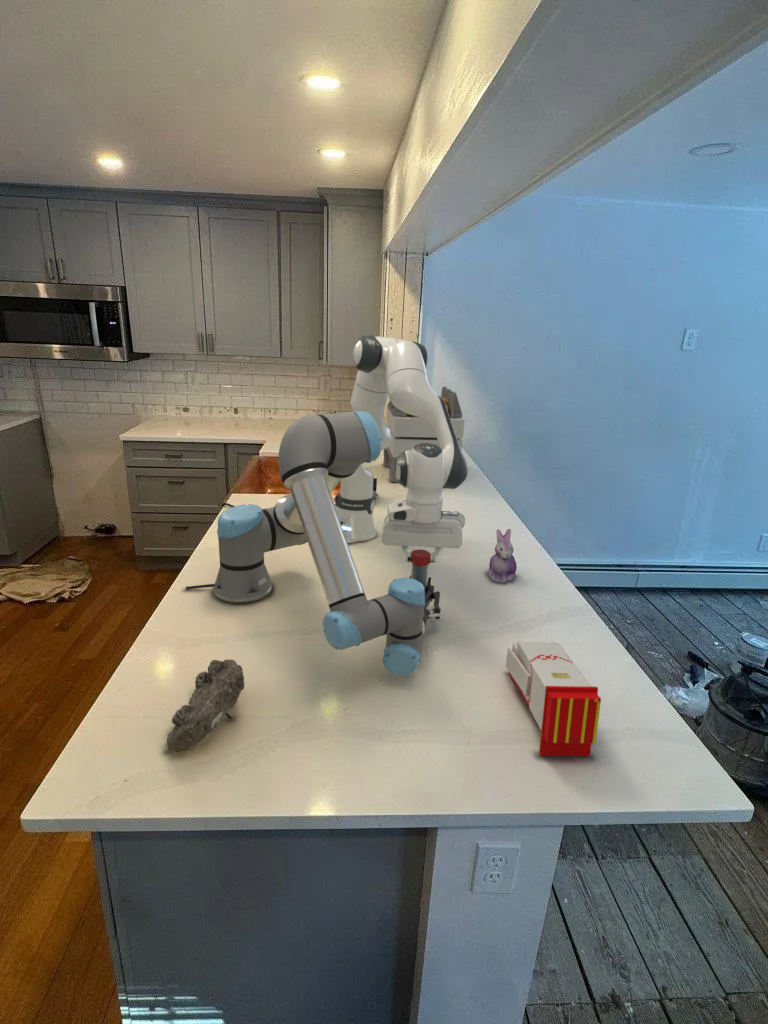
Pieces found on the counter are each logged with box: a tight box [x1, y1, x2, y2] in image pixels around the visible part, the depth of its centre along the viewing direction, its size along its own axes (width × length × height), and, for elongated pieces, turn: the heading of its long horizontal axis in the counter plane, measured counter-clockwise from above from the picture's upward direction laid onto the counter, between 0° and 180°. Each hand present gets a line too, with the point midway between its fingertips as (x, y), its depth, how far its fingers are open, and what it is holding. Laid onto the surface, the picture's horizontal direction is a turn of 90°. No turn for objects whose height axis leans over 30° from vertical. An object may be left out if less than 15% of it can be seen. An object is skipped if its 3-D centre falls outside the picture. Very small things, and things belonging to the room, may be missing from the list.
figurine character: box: [373, 477, 378, 500], centre depth 233 cm, size 7×8×15 cm
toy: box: [505, 641, 602, 757], centre depth 113 cm, size 12×13×30 cm
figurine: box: [488, 528, 518, 583], centre depth 168 cm, size 9×10×15 cm
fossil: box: [166, 658, 245, 754], centre depth 106 cm, size 22×10×15 cm
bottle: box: [410, 563, 429, 594], centre depth 146 cm, size 4×4×16 cm
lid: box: [410, 548, 431, 566], centre depth 144 cm, size 5×5×2 cm
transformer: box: [383, 386, 465, 483], centre depth 268 cm, size 34×33×41 cm
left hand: (420, 580), depth 152 cm, fingers closed on bottle, 4 cm apart
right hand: (420, 561), depth 144 cm, fingers closed on lid, 5 cm apart
